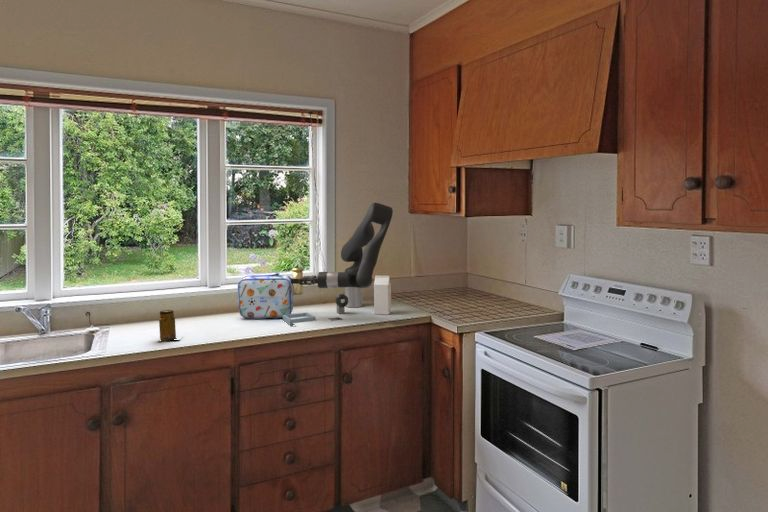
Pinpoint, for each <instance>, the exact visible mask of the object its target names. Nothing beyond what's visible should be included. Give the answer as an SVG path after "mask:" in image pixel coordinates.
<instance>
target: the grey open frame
mask: <svg viewBox="0 0 768 512" xmlns="http://www.w3.org/2000/svg"><path fill="white" fill-rule="evenodd" d="M282 317H283V318H282V322H283V321H284V322H283V323H285V322H286V323H287V324H288V326H289V325H290V326H289V327H294V326H293V325H296V323H303V322H312V321H316V316H314V315H312V314H311V313H309V312H300V313H299V312H298V313H291V314H288V315H283V316H282ZM286 323H285V324H286ZM287 324H286V325H287Z"/></svg>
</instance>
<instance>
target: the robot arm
mask: <svg viewBox="0 0 768 512" xmlns="http://www.w3.org/2000/svg"><path fill="white" fill-rule="evenodd" d="M393 214H394V211H393V208H392V207H391V206H389V205H385V204H382V203H380V202H372V203H371V204H370V205H369V207H368V209H367V211H366V213H365V215H364V217H363V218H362V219H361V220H362V221H360V223H359V225H358V226H357V228H356V229H355V231H354V233H353V234H352V235H351V237H350V238H349V240H347V242H346V243H344V244H343V245H342V248H341V250H340V257H341V260H342V261H344V262H345V263H353V264H352V265H350V266H349V267H346V268H345V269H344V271H341V272H340V271H339V272H338V271H318V272H317V275H304V276H303V278H299V279H293V278H291V284H300V285H303V286H304V285H305V286H314V285H316V284H317V287H318V289H336V288H344V292H345V293H344V295H346V296H347V297H348V304H347V305H346V306H345V307H346V308H361V307H363V305H364V304H363V288H364V289H367V288H369V287H371V285H372V283H373V274H374V269H375V267H376V266H377V262H378V259H379V255H380V251H381V247H382V244H383V242H384V239H385V237H386V235H387V232H388V229H389V227H390V224H391V221H392V218H393ZM373 223H374V224H378V225H380V228H379V230H378V232H377V233H376V235H375V228H374V225H373ZM363 248H364V249H363ZM302 280H303V283H302Z"/></svg>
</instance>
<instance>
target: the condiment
mask: <svg viewBox="0 0 768 512" xmlns="http://www.w3.org/2000/svg"><path fill="white" fill-rule="evenodd" d="M158 321H159V322H158V323H159V326H158V327H159V340H161V341H168V342H170V341H169V340H174V339H177V338H176V337H177V332H176V317H175V314H174V310H172V309H163V310H160V312H159V319H158ZM159 340H158V341H157V343H160V342H159Z"/></svg>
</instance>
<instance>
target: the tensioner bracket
mask: <svg viewBox="0 0 768 512" xmlns="http://www.w3.org/2000/svg"><path fill="white" fill-rule="evenodd" d="M335 295H336V296H335V304H336V314H338V315H344V314H346V313H345V312H346V310H345V307H346V305H347V304H348V297H347V296H346V295H345V293H344V292H337V293H335ZM327 319H328V320H330V321H331V322H333V321H342V320H344V319H343V318H341V317H338V316H337V317H329V318H327Z"/></svg>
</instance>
